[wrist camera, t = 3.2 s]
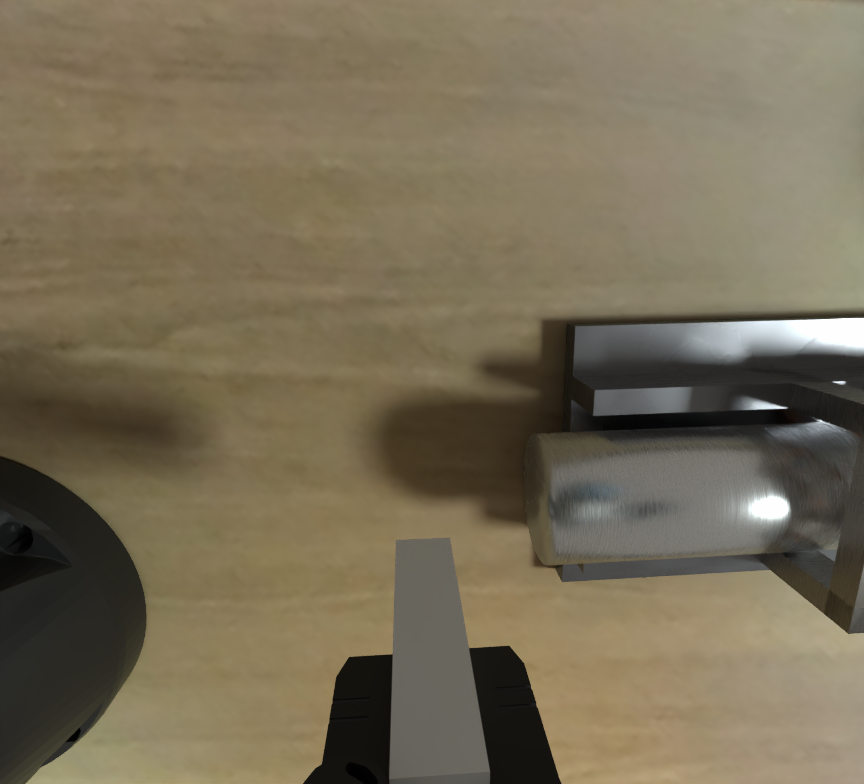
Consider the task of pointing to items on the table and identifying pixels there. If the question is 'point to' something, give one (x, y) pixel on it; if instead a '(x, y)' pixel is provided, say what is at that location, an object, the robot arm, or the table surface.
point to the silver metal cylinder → (687, 491)
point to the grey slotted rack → (729, 420)
